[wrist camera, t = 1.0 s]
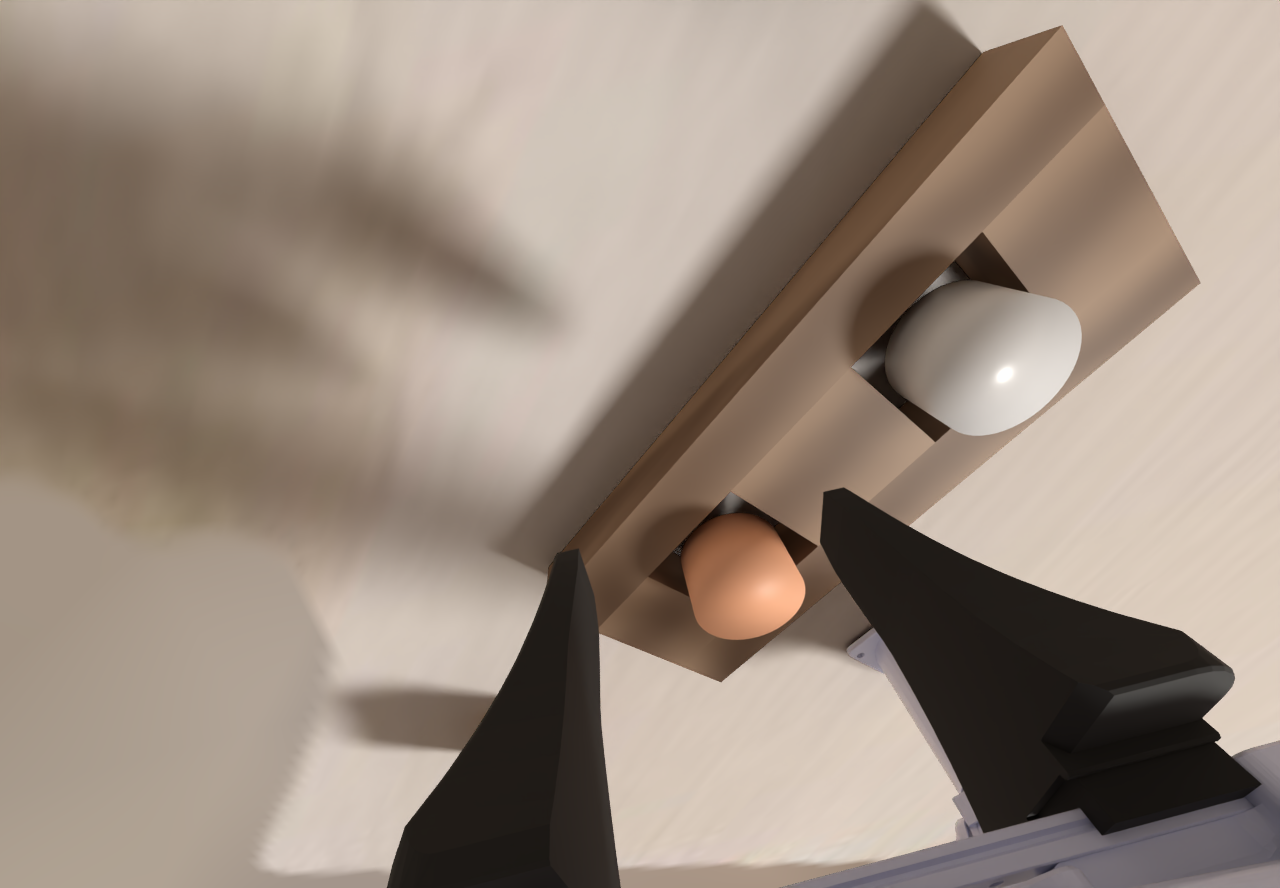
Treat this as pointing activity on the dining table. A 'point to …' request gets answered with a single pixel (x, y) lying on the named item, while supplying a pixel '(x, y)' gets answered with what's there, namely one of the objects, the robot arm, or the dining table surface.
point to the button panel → (861, 313)
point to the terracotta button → (740, 577)
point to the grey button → (982, 355)
